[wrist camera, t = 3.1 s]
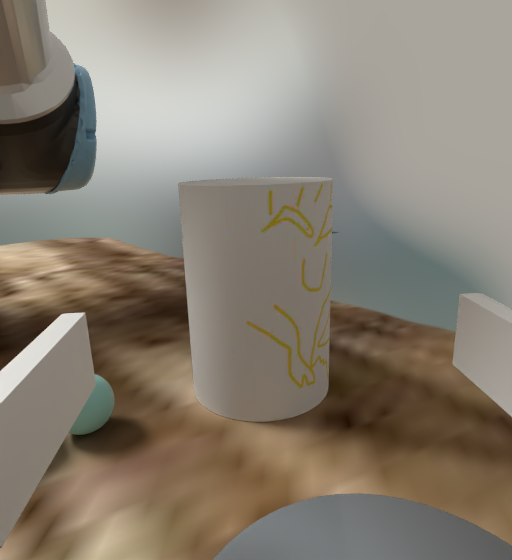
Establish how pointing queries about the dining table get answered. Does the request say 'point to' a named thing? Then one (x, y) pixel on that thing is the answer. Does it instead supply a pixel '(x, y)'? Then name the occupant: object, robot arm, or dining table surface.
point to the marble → (95, 409)
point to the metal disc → (363, 533)
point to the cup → (258, 293)
